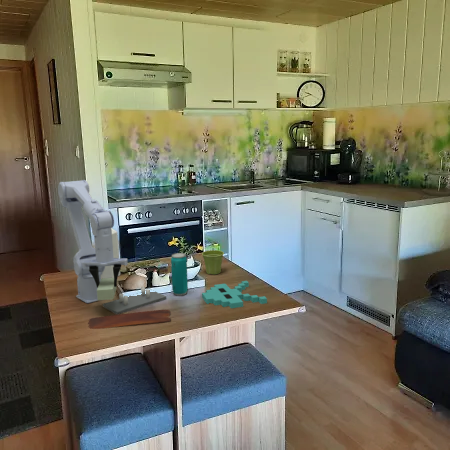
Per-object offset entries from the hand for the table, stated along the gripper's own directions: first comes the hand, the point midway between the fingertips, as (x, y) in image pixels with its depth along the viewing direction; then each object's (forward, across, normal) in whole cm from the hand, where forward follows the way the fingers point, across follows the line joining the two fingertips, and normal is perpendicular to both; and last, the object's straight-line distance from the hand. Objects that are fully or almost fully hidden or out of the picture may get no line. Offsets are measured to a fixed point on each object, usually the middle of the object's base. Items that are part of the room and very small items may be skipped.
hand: (107, 286), depth 154 cm
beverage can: (+9, +25, +11) cm, 29 cm away
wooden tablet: (+9, +8, -9) cm, 15 cm away
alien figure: (+9, +43, +4) cm, 44 cm away
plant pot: (+9, +40, +34) cm, 53 cm away
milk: (+9, -3, +37) cm, 38 cm away
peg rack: (+9, +9, +5) cm, 13 cm away
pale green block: (+2, 0, 0) cm, 3 cm away
